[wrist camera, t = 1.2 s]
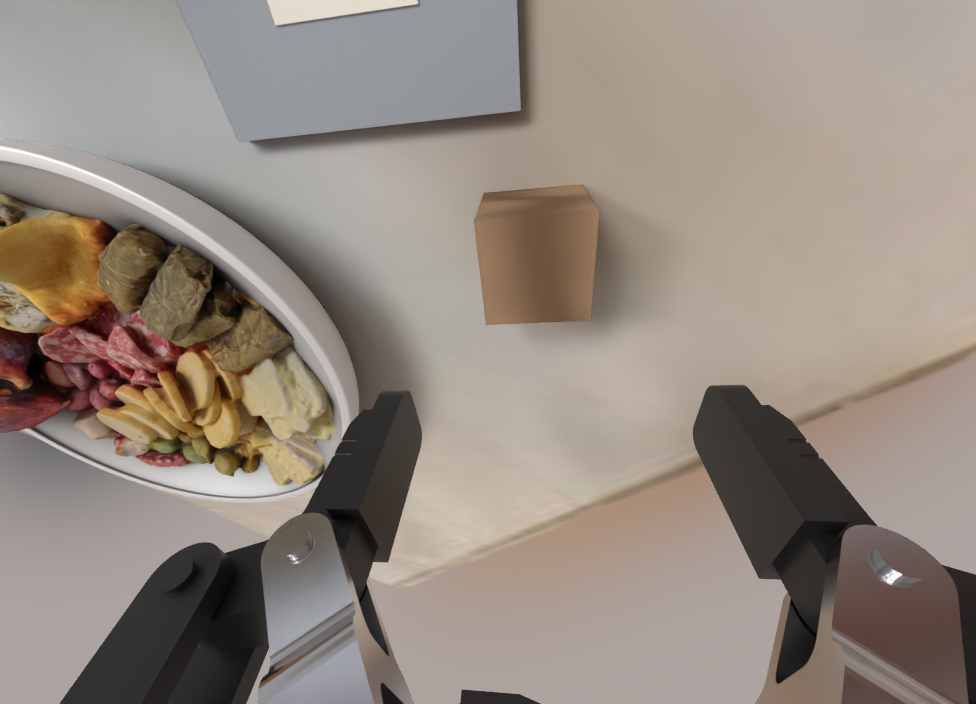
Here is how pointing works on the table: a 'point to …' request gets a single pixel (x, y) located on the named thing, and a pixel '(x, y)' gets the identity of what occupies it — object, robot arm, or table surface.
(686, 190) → the table surface
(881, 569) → the robot arm
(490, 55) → the grey square plate
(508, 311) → the walnut block
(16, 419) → the bowl
